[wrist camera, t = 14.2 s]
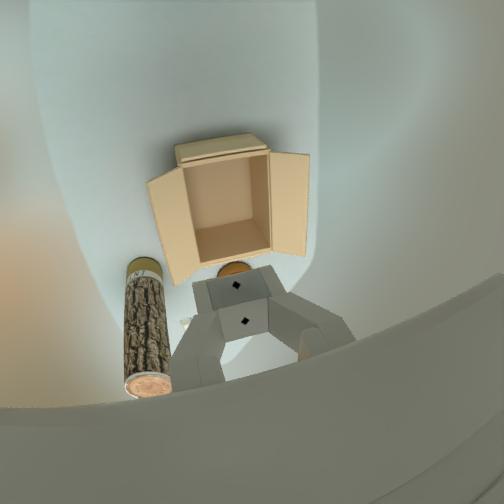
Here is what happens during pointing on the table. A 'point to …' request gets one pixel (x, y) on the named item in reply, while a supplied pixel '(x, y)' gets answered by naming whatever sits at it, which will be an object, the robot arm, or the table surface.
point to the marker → (185, 323)
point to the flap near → (174, 224)
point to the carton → (228, 196)
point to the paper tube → (146, 331)
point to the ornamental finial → (233, 269)
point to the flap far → (289, 201)
